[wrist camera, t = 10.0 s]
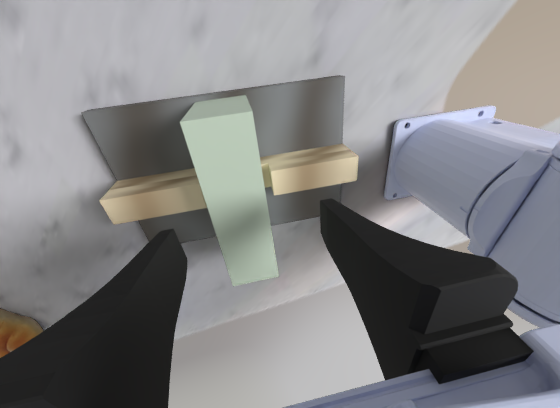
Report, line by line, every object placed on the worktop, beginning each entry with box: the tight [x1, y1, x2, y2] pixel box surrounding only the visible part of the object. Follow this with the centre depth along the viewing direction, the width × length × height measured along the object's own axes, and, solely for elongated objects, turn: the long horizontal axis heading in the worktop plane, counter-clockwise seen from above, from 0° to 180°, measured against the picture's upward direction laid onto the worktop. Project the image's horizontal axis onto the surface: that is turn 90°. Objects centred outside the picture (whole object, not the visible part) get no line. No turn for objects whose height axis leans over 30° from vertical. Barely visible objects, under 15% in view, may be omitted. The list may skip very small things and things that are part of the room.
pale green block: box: [180, 95, 279, 286], centre depth 17 cm, size 12×4×6 cm, turn 6°
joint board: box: [82, 75, 359, 243], centre depth 19 cm, size 18×12×4 cm, turn 96°
